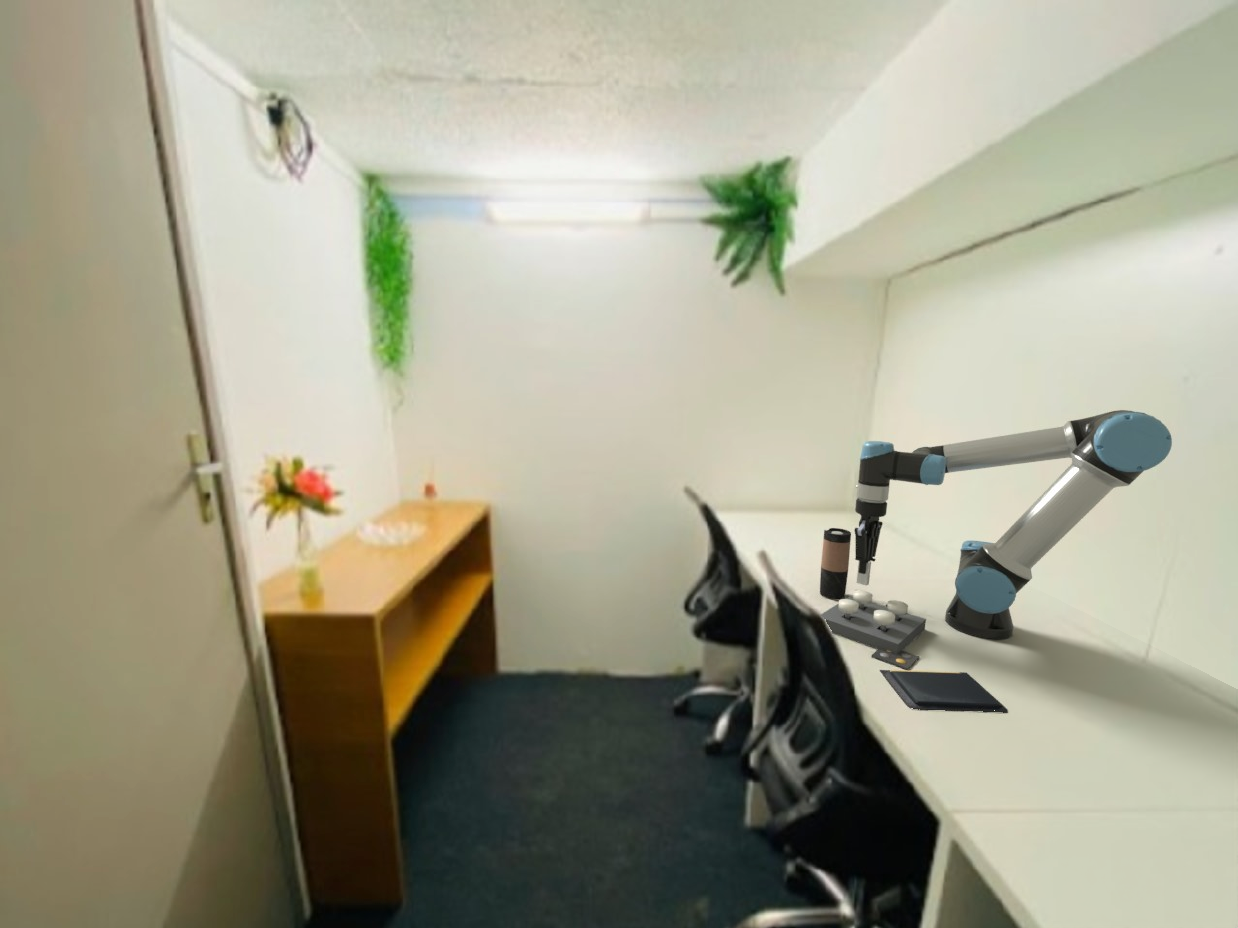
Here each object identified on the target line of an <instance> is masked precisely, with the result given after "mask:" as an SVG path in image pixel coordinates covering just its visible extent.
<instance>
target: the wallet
mask: <svg viewBox="0 0 1238 928" xmlns="http://www.w3.org/2000/svg"><path fill="white" fill-rule="evenodd" d="M879 672H880V673H881V674H882V676H883V678H884V679H885V681H886V682H887V683H888V684H889V685H890V686H891V688H892V689H893V690H894V692H895V693H896V695H897V696H898V697H899V698H900V699H901V700H902V702H903V703H904V704H905V705H906V706H907V708H909V709H911V708H913V709H918V710H917V711H928V710H945V711H944V712H964V711H983V712H982V713H987V712H1003V713H1002V714H1008V711H1009V710H1008V709H1007V708H1006V707H1005V705H1004V704H1002V703H1001V702H1000V701H999V700H998V699H997V698H996V697H995V696H993V695H992V694H991V692H989V691H988V690H987V689H986V688H984V687H983V686H982V685H981V683H979V682H978V681H977V680H976V679H975V678H974V677H972V676H971V675H970V674H969V673H968V672H965V671H963V672H961V671H938V670H937V671H936V670H935V671H934V670H933V671H932V670H930V671H929V670H910V669H908V670H905V669H903V670H902V669H879ZM919 709H920V710H919ZM994 710H995V711H994Z"/></svg>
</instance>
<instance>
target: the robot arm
mask: <svg viewBox="0 0 1238 928" xmlns="http://www.w3.org/2000/svg"><path fill="white" fill-rule="evenodd" d="M1172 444H1173V439H1172V435H1171V432H1170V431H1169V428H1168V427H1167V426H1166V425H1165V424H1164V423H1163V422H1162V421H1161V420H1159V419H1158V418H1157V417H1155V416H1153V415H1150V414H1147V413H1145V412H1140V411H1133V410H1124V409H1122V410H1121V409H1119V410H1111V411H1109V412H1104V413H1101V414H1097V415H1094V416H1090V417H1085V418H1080V419H1074V420H1068V421H1067V422H1066V423H1065V424H1064V425H1062V426H1057V427H1051V428H1044V429H1038V430H1032V431H1031V430H1030V431H1025V432H1019V433H1013V434H1005V435H999V436H994V437H987V438H982V439H974V440H973V439H972V440H966V441H961V442H955V443H948V444H943V445H936V446H921V447H919V448H918V447H917V448H916V449H914V450H913V451H912V452H907V451H906V452H905V451H897V450H895V447H894V446H895V445H894V444H893V443H892V442H887V441H879V440H877V441H876V440H868V441H866V442H864V443H863V445H862V448H861V454H860V458H859V471H858V483H857V484H856V486H855V487H856V489H857V493H856V497H857V499H855V510H854V511H855V513H857V514H859V515H860V520H858V521H859V522H858V527H855V528H854V534H855V558H854V560H855V561H858V565H857V574H856V575H857V576H856V583H857V584H859V585H863V586H866V587H867V586H870V585H869V583H870V577H871V575H870V574H871V569H872V568H871V567H872V562H875V561H876V558H875V557H876V554H877V550H878V544H879V540H880V534H881V529H882V527H883V524H884V523H883V521H880V518H883V517H885V516H886V515H887V508H888V502H887V501H888V500H889V492H890V480H891V481H900V482H907V483H914V484H921V485H926V486H928V485H933V486H940V485H942V484H943V483H944V480H945V479H944V478H945V475H946V474H948V473H955V472H956V473H957V472H965V471H972V470H979V469H987V468H988V469H989V468H995V467H1005V466H1011V465H1018V464H1021V465H1022V464H1028V463H1034V462H1035V463H1036V462H1045V461H1051V460H1052V461H1053V460H1059V459H1068V458H1069V459H1071V464H1070V465H1069V466H1068V467H1067V468H1066V469H1065V470H1064V471H1063V472H1062V473H1061V474H1060V475H1059V476H1058V477H1057V478H1056V480H1055V481H1054V482H1052V483H1051V485H1049V487H1048V488H1047V489H1045V491H1044V492H1042V494H1041V495H1040V496H1039V497H1038V498H1037V499H1036V501H1034V502H1033V504H1032V505H1031V506H1029V508H1028V509H1027V510H1026V511H1025V512H1024V513H1023V514H1022V515H1021V516H1020V517H1019V518H1018V519H1017V520H1016V521H1015V522H1014V524H1012V525H1011V526H1010V527H1009V529H1008V530H1006V532H1004V534H1003V535H1002V536H1001V537H1000V538H999V539H998V540H997V541H996V542H994V543H993V542H988V541H981V540H964V542H963V543H962V545H961V548H960V557H959V564H958V571H957V575H956V578H955V580H954V581H955V582H954V586H955V594H954V596H953V598H952V600H951V602H950V603H949V605H948V607H947V608H946V611H945V616H944V619H945V622H946V623H947V625H949V626H950V627H952V628H954V629H955V630H957V631H960V632H961V633H964V634H967V635H970V636H974V637H978V638H984V639H987V640H988V639H989V640H1005V639H1008V638H1012V636H1013V632H1014V624H1013V623H1014V622H1013V620H1012V615H1011V612H1010V611H1011V610H1010V607H1012V605H1013V603H1014V602H1015V600H1016V597H1017V593H1019V592H1020V591H1021V590H1022V589H1023V588H1025V585H1027V584H1028V583H1029V582H1030V581H1031V580H1032V579H1033V574H1032V573H1033V572H1032V568H1033V567H1034V566H1035V565H1036V564H1037V563H1038V562H1039V561H1040V560H1041V559H1043V557H1044V556H1046V554H1047V553H1049V552H1050V551H1051V550H1052V549H1053V547H1054V546H1056V544H1058V543H1059V542H1060V540H1062V539H1063V538H1064V537H1065V536H1066V535H1067V534H1068V533H1069V532H1070V531H1071V530H1072V529H1073V528H1074V527H1075V526H1076V525H1077V524H1078V523H1079V522H1081V520H1082V519H1084V518H1085V516H1087V515H1088V514H1089V513H1090V511H1092V510H1093V509H1094V508H1095V507H1096V506H1097V505H1098V504H1099V503H1100V502H1101V501H1102V500H1103V499H1104V498H1105V497H1106V496H1107V495H1108V494H1109V493H1110V492H1111V491H1112V490H1113V489H1114V488H1118V487H1121V488H1122V487H1128V486H1130V485H1131V484H1132V483H1133V482H1134V481H1135V480H1136V479H1137V478H1138V477H1139V476H1140V475H1141V474H1142V473H1143V472H1144V471H1148V470H1151V469H1152V468H1154V467H1157V466H1158V465H1160V464H1161V463H1162V462H1163V461H1164V460H1165V459H1166V458H1167V457H1168V456H1169V454H1170V451H1171V449H1172Z"/></svg>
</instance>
